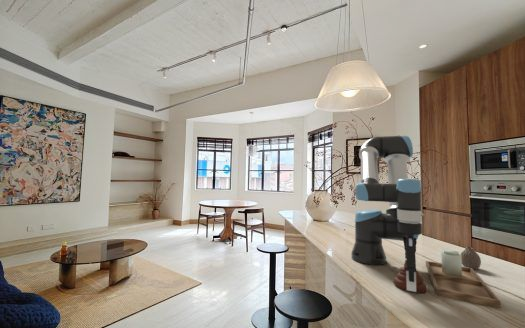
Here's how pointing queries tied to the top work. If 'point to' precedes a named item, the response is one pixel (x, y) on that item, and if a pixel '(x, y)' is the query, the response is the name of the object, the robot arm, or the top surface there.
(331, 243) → the top surface
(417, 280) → the poop emoji
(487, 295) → the divided wooden tray
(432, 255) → the top surface
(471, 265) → the vase
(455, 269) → the jar
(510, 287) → the top surface
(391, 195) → the robot arm
